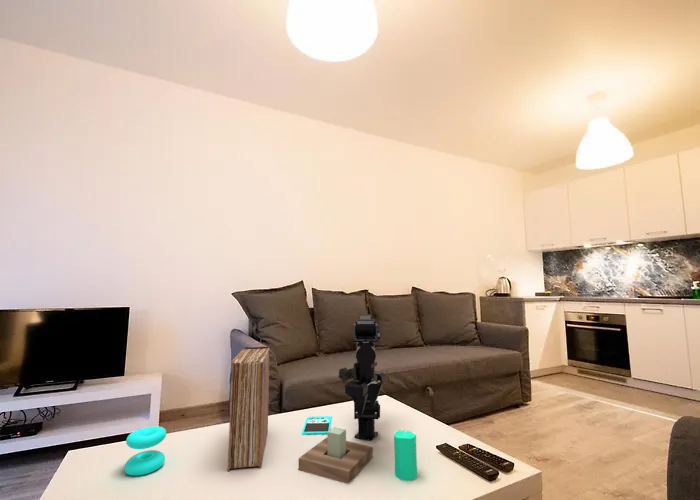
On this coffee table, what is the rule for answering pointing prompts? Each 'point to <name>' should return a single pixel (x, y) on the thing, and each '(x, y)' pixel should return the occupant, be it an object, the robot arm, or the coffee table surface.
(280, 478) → the coffee table surface
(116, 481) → the coffee table surface
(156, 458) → the donuts
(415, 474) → the candle
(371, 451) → the walnut well block
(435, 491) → the coffee table surface
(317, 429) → the handheld game console
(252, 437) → the book
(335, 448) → the sage peg
